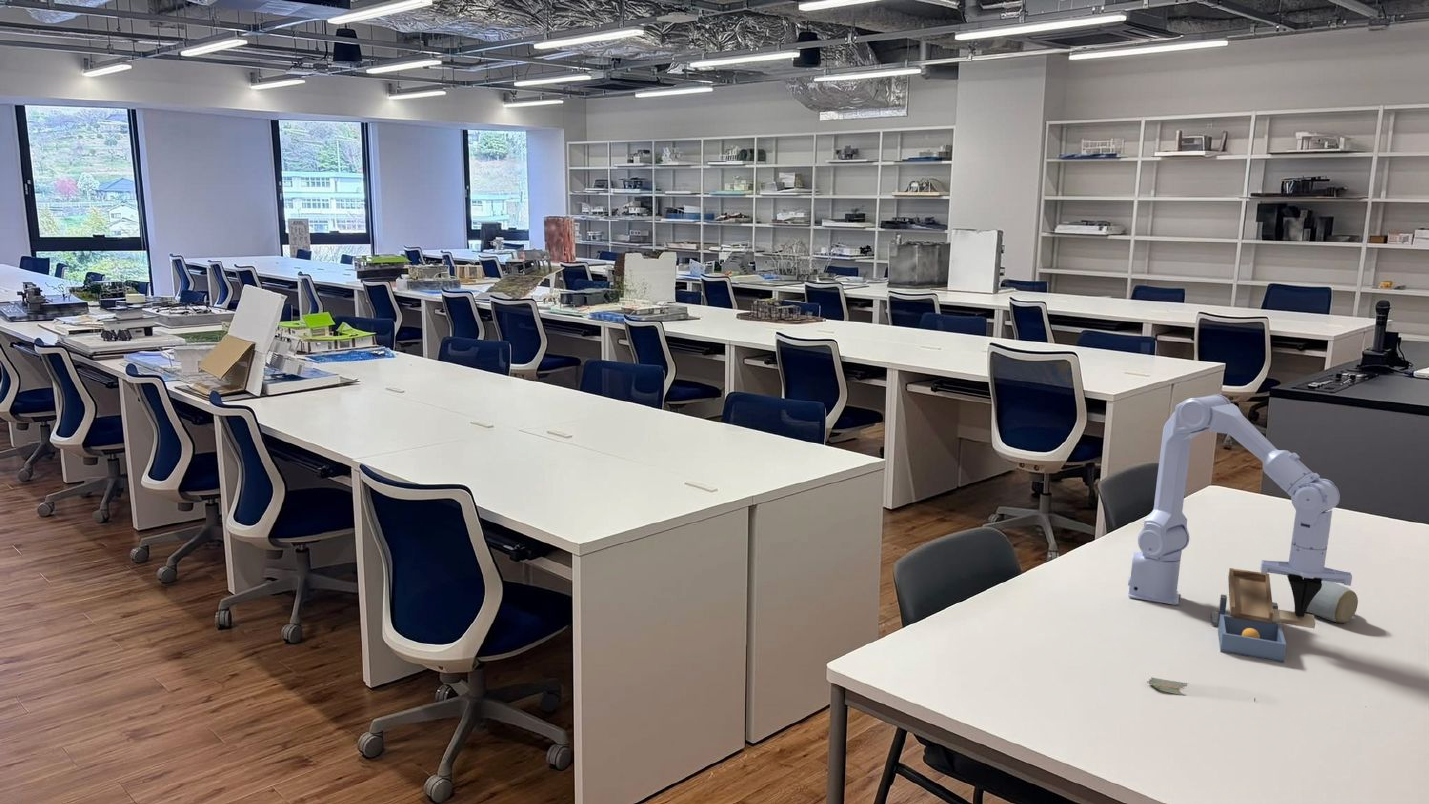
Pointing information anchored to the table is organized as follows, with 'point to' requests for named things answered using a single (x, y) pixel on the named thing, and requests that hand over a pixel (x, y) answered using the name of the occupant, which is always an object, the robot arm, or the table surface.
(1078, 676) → the table surface
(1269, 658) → the bin
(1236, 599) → the tilt ramp
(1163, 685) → the map
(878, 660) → the table surface
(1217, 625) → the pivot stand
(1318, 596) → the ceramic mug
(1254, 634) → the orange ball
